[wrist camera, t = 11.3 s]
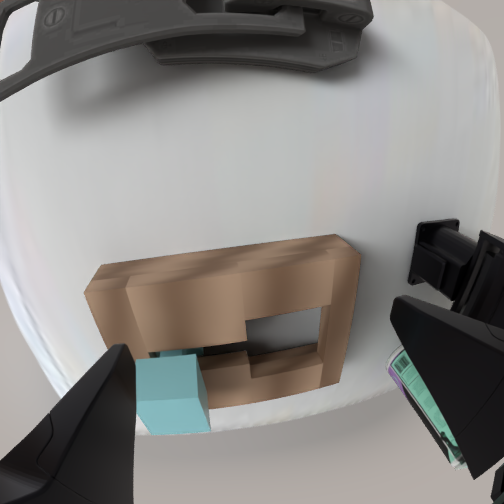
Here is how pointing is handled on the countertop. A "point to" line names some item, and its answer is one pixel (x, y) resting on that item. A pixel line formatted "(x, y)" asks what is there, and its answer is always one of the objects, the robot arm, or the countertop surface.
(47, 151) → the countertop surface
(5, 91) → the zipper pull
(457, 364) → the robot arm
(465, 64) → the countertop surface
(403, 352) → the spray can
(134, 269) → the keyhole plate
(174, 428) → the teal peg
